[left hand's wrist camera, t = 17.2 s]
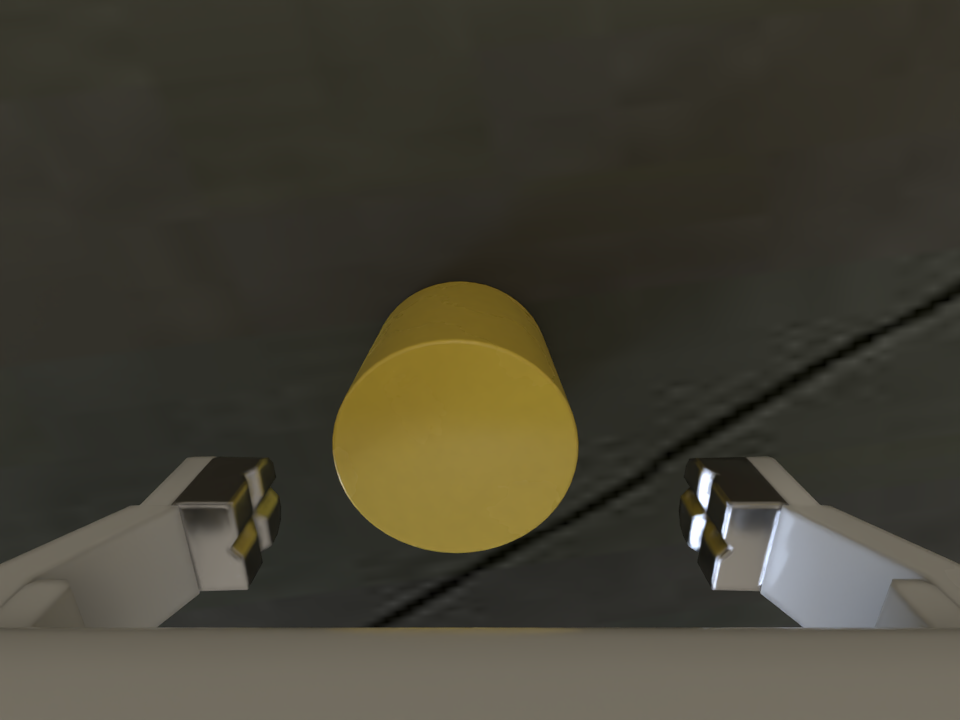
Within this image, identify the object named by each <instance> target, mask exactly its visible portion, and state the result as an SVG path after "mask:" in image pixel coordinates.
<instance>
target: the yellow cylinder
mask: <svg viewBox="0 0 960 720" xmlns="http://www.w3.org/2000/svg"><path fill="white" fill-rule="evenodd" d="M332 439H333V457H334V463H335V468H336V471H337V474H338V477H339V480H340V483H341V485H342V487H343V489H344V491H345V493H346V494H347V496H348V497H349V499H350V500H351V502H352V503H353V505H354V506H355V507H356V508H357V510H358V511H359V512H360V513H361V514H362V515H363V516H364V517H365V518H366V519H367V520H368V521H369V522H371V523H372V524H373V525H374V526H375V527H377V528H378V529H380V530H381V531H383V532H384V533H386V534H388V535H389V536H391V537H393V538H395V539H397V540H399V541H401V542H404V543H406V544H409V545H411V546H415V547H418V548H422V549H425V550H431V551H437V552H447V553H467V552H476V551H482V550H487V549H491V548H495V547H499V546H501V545H504V544H507V543H509V542H512V541H514V540H516V539H518V538H520V537H522V536H524V535H525V534H527V533H528V532H530V531H531V530H533V529H534V528H536V527H537V526H538V525H539V524H541V523H542V522H543V521H544V520H545V519H546V518H548V516H549V515H550V514H551V513H552V512H553V511H554V510H555V509H556V508H557V506H558V505H559V503H560V502H561V500H562V499H563V498H564V496H565V494H566V492H567V490H568V488H569V486H570V484H571V482H572V479H573V476H574V473H575V470H576V465H577V459H578V434H577V427H576V423H575V420H574V416H573V413H572V410H571V408H570V405H569V403H568V400H567V397H566V395H565V392H564V390H563V387H562V385H561V382H560V379H559V377H558V374H557V372H556V369H555V366H554V364H553V361H552V359H551V356H550V353H549V351H548V348H547V346H546V343H545V341H544V338H543V336H542V333H541V331H540V329H539V327H538V325H537V323H536V322H535V320H534V319H533V317H532V316H531V315H530V314H529V312H528V311H527V310H526V309H525V308H524V307H523V306H522V305H521V304H520V303H519V302H517V301H516V300H515V299H513V298H512V297H510V296H509V295H508V294H506V293H504V292H502V291H500V290H498V289H495V288H493V287H490V286H487V285H483V284H478V283H474V282H447V283H442V284H437V285H434V286H431V287H427V288H425V289H423V290H421V291H419V292H416V293H415V294H413V295H412V296H410V297H409V298H407V299H406V300H405V301H403V302H402V303H401V304H400V305H399V306H398V307H397V308H396V309H395V310H394V311H393V312H392V313H391V314H390V316H389V317H388V319H387V320H386V322H385V323H384V325H383V327H382V329H381V331H380V332H379V334H378V336H377V338H376V340H375V342H374V344H373V346H372V347H371V349H370V351H369V353H368V355H367V357H366V359H365V360H364V362H363V364H362V366H361V368H360V370H359V372H358V374H357V375H356V377H355V379H354V381H353V383H352V385H351V387H350V389H349V390H348V392H347V394H346V396H345V398H344V400H343V402H342V404H341V406H340V409H339V411H338V414H337V417H336V421H335V424H334V431H333V438H332Z"/></svg>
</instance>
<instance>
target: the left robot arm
mask: <svg viewBox="0 0 960 720" xmlns="http://www.w3.org/2000/svg"><path fill="white" fill-rule="evenodd" d="M275 478H276V474H275V469H274V465H273V462H272V461H271V460H270V459H269V458H262V457H216V456H203V457H190V458H186V459H185V460H184V461H183V462H182V463H181V464H180V465H179V466H178V467H177V468H176V469H175V470H174V471H173V472H172V473H171V474H170V475H169V476H168V477H167V478H166V479H165V480H164V481H163V482H162V483H161V484H160V485H159V486H158V487H157V488H156V489H155V490H154V491H153V492H152V493H151V494H150V496H149V497H148V498H147V499H146V500H145V501H144V502H143V503H142V504H141V505H136V506H129V507H127V508H124V509H122V510H120V511H118V512H115V513H113V514H111V515H109V516H106V517H104V518H102V519H100V520H98V521H95V522H93V523H91V524H89V525H86V526H84V527H82V528H80V529H78V530H75V531H73V532H71V533H69V534H66V535H64V536H62V537H60V538H57V539H55V540H53V541H51V542H49V543H46V544H44V545H42V546H40V547H37V548H35V549H33V550H31V551H28V552H26V553H24V554H22V555H20V556H17V557H15V558H13V559H11V560H8V561H6V562H4V563H2V564H0V720H960V564H958V563H956V562H954V561H951V560H949V559H947V558H945V557H942V556H940V555H938V554H936V553H933V552H931V551H929V550H927V549H925V548H922V547H920V546H918V545H916V544H913V543H911V542H909V541H907V540H905V539H902V538H900V537H898V536H896V535H893V534H891V533H889V532H887V531H885V530H882V529H880V528H878V527H876V526H873V525H871V524H869V523H867V522H865V521H862V520H860V519H858V518H856V517H853V516H851V515H849V514H847V513H845V512H842V511H840V510H838V509H836V508H833V507H831V506H825V505H820V504H819V503H818V502H817V501H816V500H815V499H814V498H813V497H812V496H811V495H810V494H809V493H808V492H807V491H806V490H805V489H804V488H803V487H802V486H801V485H800V484H799V483H798V482H797V481H796V480H795V479H794V478H793V477H792V476H791V475H790V474H789V473H788V472H787V471H786V470H785V469H784V468H783V467H782V466H781V465H780V464H779V463H778V462H777V461H776V460H775V459H773V458H771V457H768V456H756V457H726V458H691V459H689V461H688V463H687V465H686V468H685V474H684V478H685V480H686V481H687V483H688V484H689V486H690V488H689V489H688V490H687V491H686V492H685V493H684V494H683V495H682V496H681V498H680V506H679V519H680V527H681V530H682V533H683V536H684V538H685V540H686V542H687V544H688V545H689V546H690V547H692V548H693V549H695V550H696V551H698V552H699V556H698V562H697V563H698V564H699V566H700V568H701V570H702V572H703V573H704V575H705V577H706V579H707V581H708V583H709V584H710V586H711V588H712V590H744V591H761V592H760V593H761V594H762V595H763V596H764V597H766V598H767V599H768V600H770V601H771V602H772V603H773V604H775V605H776V606H777V607H778V608H780V609H781V610H782V611H783V612H785V613H786V614H787V615H789V616H790V617H791V618H792V619H794V620H795V621H796V622H797V623H799V624H800V625H801V626H802V627H775V628H202V627H158V626H159V625H160V624H162V623H163V622H164V621H165V620H167V619H168V618H169V617H170V616H172V615H173V614H174V613H175V612H177V611H178V610H179V609H181V608H182V607H183V606H184V605H186V604H187V603H188V602H189V601H191V600H192V599H193V598H194V597H196V596H197V595H198V594H199V593H200V592H199V591H215V590H248V588H249V586H250V585H251V583H252V581H253V579H254V577H255V575H256V574H257V572H258V570H259V568H260V566H261V564H262V563H263V562H262V556H261V552H262V551H264V550H265V549H267V548H268V547H270V546H271V545H272V544H273V542H274V540H275V538H276V536H277V534H278V530H279V525H280V521H281V504H280V498H279V496H278V495H277V494H276V493H275V492H274V491H273V490H272V489H271V488H270V486H271V484H272V483H273V481H274V480H275Z"/></svg>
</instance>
